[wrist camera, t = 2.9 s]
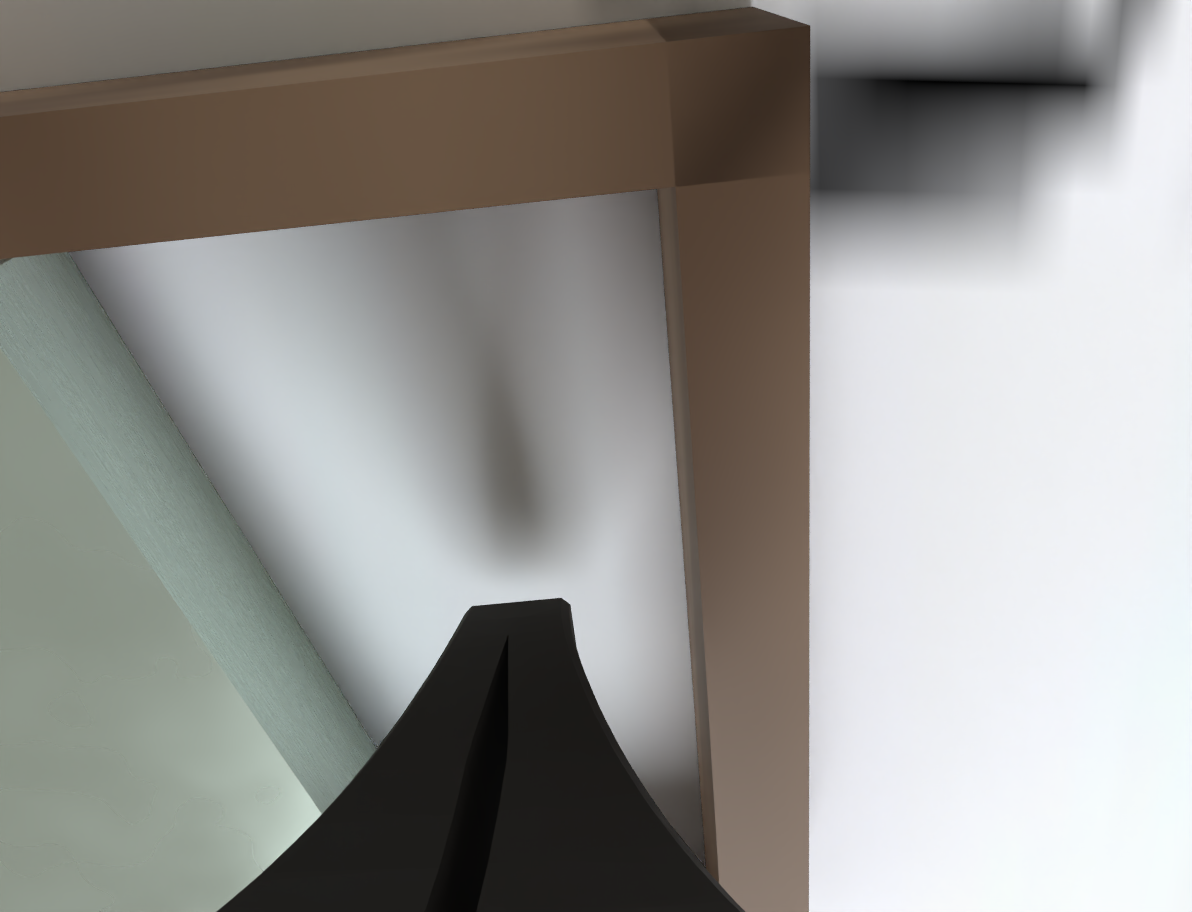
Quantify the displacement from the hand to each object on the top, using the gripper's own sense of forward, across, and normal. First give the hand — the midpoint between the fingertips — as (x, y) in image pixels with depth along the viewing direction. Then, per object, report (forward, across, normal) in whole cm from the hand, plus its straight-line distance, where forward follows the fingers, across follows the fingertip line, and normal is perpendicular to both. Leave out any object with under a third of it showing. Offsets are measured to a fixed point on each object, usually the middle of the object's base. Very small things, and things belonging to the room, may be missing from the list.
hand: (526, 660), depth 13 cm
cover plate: (+2, +7, 0) cm, 7 cm away
